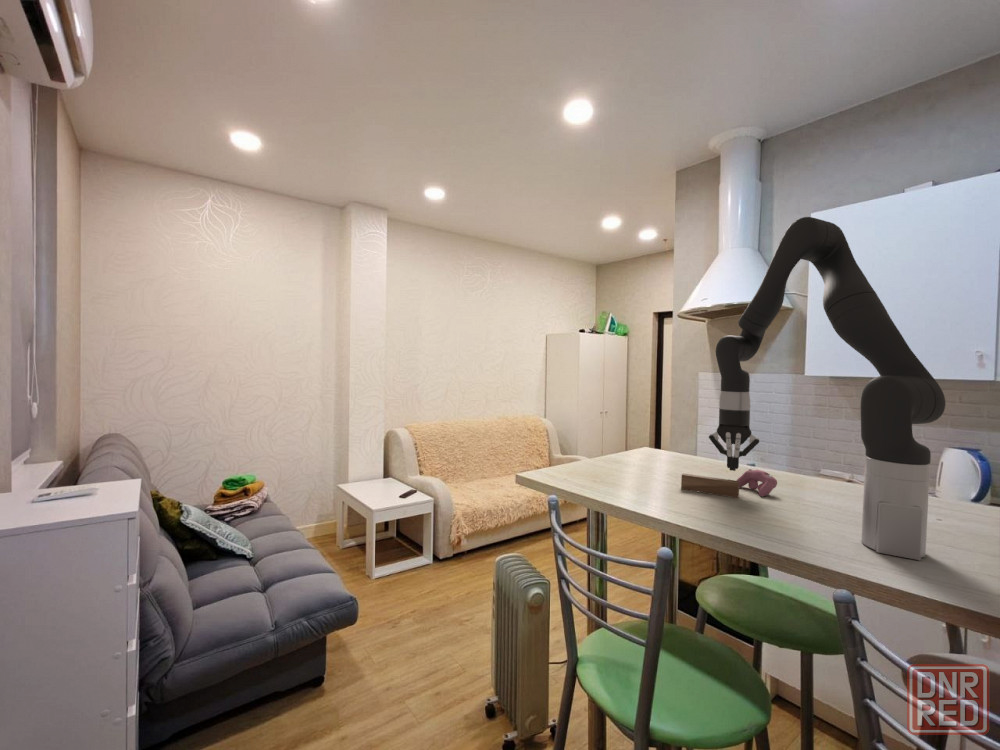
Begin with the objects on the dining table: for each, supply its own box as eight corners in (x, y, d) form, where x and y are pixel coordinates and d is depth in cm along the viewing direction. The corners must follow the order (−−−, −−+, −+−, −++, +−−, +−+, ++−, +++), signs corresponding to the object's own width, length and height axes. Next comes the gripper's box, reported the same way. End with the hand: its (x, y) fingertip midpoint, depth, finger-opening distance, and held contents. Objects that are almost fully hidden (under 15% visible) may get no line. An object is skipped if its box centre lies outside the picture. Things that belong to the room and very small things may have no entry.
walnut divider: (738, 498, 115) (739, 482, 115) (681, 489, 122) (681, 474, 122) (738, 496, 117) (739, 481, 116) (682, 487, 124) (682, 473, 124)
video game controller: (772, 502, 117) (783, 478, 118) (760, 495, 116) (771, 471, 116) (743, 491, 127) (753, 469, 127) (732, 485, 126) (742, 462, 126)
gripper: (706, 407, 122) (705, 469, 122) (762, 410, 115) (760, 476, 116) (709, 405, 128) (708, 464, 129) (762, 408, 122) (760, 470, 122)
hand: (732, 470), depth 122 cm, fingers closed
